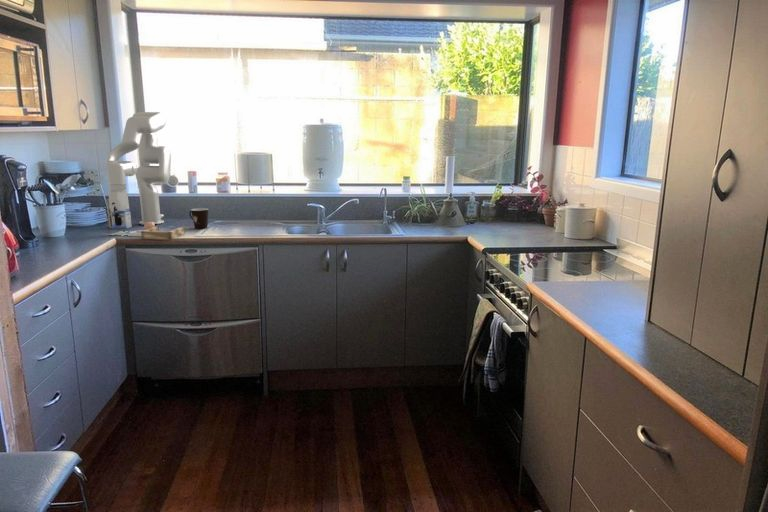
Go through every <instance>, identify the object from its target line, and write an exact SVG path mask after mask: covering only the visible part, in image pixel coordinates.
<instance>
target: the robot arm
mask: <svg viewBox="0 0 768 512" xmlns="http://www.w3.org/2000/svg"><path fill="white" fill-rule="evenodd" d="M166 122H167V119H166V116H165V114H164V113H162V112H160V111H159V112H158V111H153V112H152V111H151V112H150V111H139V112H136V113H133V115H132V116H131V117H129V118H127V120H126V123H125V126H124V131H123V134H122V138H121V141H120V142H119V143H118V144H116V146H114V147H113V149H112V150H110V151H109V153H108V156H107V160H106V165H105V168H106V169H105V170H106V172H107V178H108V188H109V193H108V197H109V208H110V211H111V213H112V214H113V216H114V217H115V225H122V221H121V217H120V211H123V210H130V208H131V207H130V202H129V195H128V192H127V191H128V189H127V183H126V181H127V180H126V179H127V178H126V177H132V176H135V179H136V181H137V186H138V192H139V200H140V202H139V203H140V211H141V212H140V213H141V219H142V220H140V221H139V225H140V224H141V226H144V222H155V224H157V225H162V224H164V223H165V221H164V220H163V219H162V218H164V214H162V213H161V207H160V198H159V197H160V196H159V191H158V188H157V186H156V184H157V185H158V184H161V185H163V184H167V183H168V182H169V181H170V178H171V163H172V162H171V161H172V154H171V151H170V149H169V148H168V147H166V146H165V145H164V146H163V145H158V136H157V134H156V132H158V131H160V130H162V129H163V128H164V127H165V126H166V124H167V123H166ZM137 149H139V160H140V162H141V163H143V164H149V165H140V166H139V167H138V165H137V164H136V162H134V161H128V160H120V159H121V158H122V157H123V156H124V155H127V154H130V153H131V152H134V151H136V150H137ZM116 210H117V211H116ZM116 212H118V214H117V213H116ZM161 223H162V224H161Z"/></svg>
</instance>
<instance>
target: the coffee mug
mask: <svg viewBox="0 0 768 512" xmlns="http://www.w3.org/2000/svg"><path fill="white" fill-rule="evenodd" d="M188 216H189V217H190V218H191V219H192V221H193V225H194V229H195V230H207V229H208V225H209V223H208V222H209V208H205V207H197V208H192V209H191V210H190V211H189V215H188Z"/></svg>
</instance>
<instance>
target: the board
mask: <svg viewBox="0 0 768 512" xmlns="http://www.w3.org/2000/svg"><path fill="white" fill-rule="evenodd" d="M126 232H128V231H125V232H123V230H120V231H117V232H114V233H110V234H109V235H114V234H118V235H121V236H120V237H125V236H124V235H126V234H125V233H126ZM127 235H128V236H129V234H127Z"/></svg>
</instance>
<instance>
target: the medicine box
mask: <svg viewBox="0 0 768 512" xmlns="http://www.w3.org/2000/svg"><path fill="white" fill-rule="evenodd" d="M116 211H117V210H116ZM116 213H117V214H118V212H116ZM120 217H121V221H122V225H115V217H114V216H113V214H112V213H111V218H112V227H113V228H112V229H129V228H132V227H133V225H132V218H131V217H132V216H131V210H130V209H129V210H123V211H120Z"/></svg>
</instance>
